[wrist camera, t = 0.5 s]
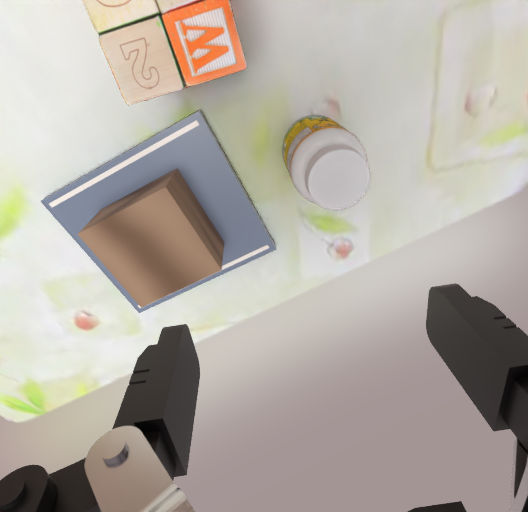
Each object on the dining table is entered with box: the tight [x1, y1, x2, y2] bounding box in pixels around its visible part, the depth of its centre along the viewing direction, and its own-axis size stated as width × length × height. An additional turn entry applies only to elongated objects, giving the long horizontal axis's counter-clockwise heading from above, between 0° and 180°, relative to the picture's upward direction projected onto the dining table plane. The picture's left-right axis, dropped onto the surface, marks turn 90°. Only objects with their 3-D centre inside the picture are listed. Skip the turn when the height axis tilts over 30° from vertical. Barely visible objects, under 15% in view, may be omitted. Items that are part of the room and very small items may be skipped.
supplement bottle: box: [282, 116, 370, 210], centre depth 26 cm, size 5×5×10 cm
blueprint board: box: [41, 110, 276, 313], centre depth 33 cm, size 16×14×1 cm
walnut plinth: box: [78, 168, 225, 308], centre depth 30 cm, size 8×8×5 cm
